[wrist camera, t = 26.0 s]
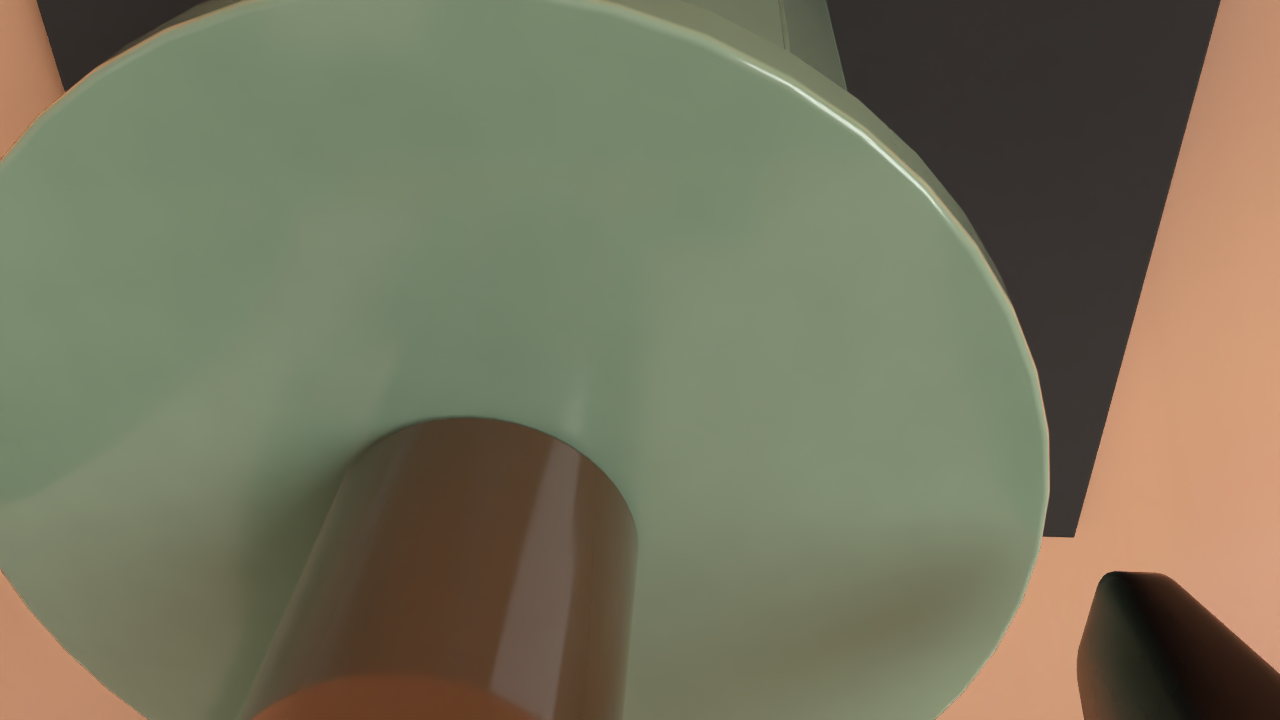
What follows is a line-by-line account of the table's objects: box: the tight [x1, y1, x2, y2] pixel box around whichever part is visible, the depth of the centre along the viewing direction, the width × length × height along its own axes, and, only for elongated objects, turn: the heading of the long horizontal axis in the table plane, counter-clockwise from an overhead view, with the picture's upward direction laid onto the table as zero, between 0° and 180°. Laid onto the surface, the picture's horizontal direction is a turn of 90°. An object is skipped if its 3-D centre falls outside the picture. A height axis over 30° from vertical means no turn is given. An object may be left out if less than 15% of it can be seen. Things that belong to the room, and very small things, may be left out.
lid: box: [0, 0, 1050, 720], centre depth 8 cm, size 9×9×4 cm
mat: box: [37, 0, 1221, 537], centre depth 18 cm, size 20×18×1 cm
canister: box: [680, 0, 848, 92], centre depth 14 cm, size 7×7×10 cm
